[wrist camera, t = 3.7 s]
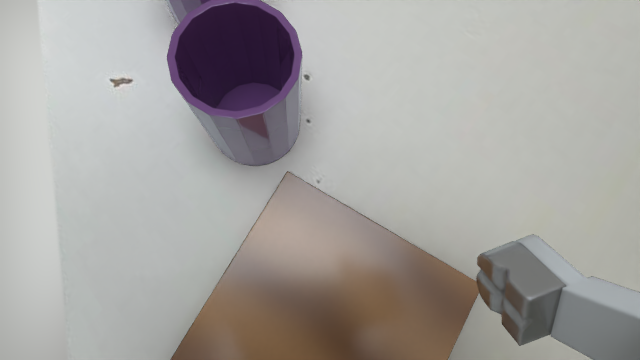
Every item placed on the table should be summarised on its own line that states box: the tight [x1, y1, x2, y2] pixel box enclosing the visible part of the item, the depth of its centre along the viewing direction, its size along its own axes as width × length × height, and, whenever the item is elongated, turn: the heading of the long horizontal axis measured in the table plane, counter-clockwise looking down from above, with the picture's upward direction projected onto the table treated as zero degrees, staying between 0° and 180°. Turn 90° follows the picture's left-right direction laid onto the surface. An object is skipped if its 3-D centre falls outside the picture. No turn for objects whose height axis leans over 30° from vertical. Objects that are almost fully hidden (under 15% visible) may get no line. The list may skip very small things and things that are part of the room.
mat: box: [171, 171, 479, 360], centre depth 27 cm, size 16×16×1 cm
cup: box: [167, 0, 302, 166], centre depth 25 cm, size 7×7×10 cm
